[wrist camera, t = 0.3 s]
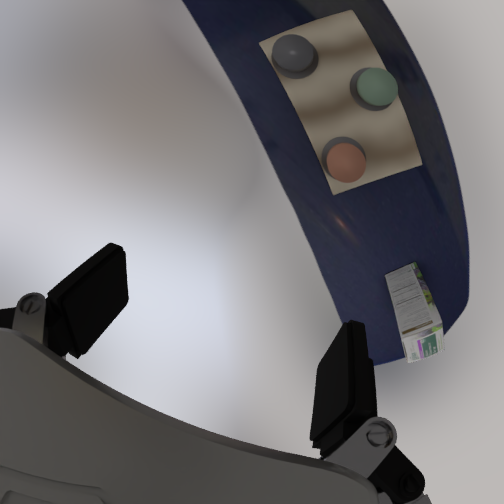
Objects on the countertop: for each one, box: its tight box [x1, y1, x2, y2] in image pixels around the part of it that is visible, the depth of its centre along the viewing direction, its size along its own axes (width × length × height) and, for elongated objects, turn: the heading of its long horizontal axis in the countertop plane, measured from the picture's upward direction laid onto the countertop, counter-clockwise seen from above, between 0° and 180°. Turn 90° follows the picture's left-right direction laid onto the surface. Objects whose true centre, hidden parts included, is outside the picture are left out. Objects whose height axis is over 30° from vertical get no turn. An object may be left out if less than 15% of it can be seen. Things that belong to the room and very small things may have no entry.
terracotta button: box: [327, 143, 366, 183], centre depth 29 cm, size 4×4×2 cm
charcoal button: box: [272, 34, 313, 72], centre depth 24 cm, size 4×4×2 cm
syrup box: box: [385, 262, 445, 363], centre depth 34 cm, size 6×6×14 cm
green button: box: [357, 68, 398, 106], centre depth 24 cm, size 4×4×2 cm
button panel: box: [259, 10, 422, 195], centre depth 28 cm, size 22×13×3 cm, turn 26°
